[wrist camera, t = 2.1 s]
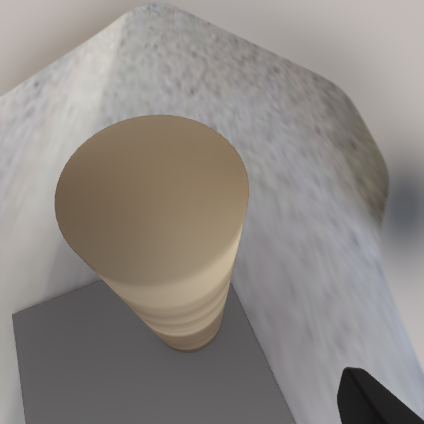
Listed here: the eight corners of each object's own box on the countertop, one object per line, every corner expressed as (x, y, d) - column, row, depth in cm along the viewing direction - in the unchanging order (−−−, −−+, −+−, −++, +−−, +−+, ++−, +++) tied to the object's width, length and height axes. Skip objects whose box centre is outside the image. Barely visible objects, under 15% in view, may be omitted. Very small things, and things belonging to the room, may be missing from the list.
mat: (330, 503, 14) (333, 506, 14) (62, 668, 12) (58, 676, 12) (210, 240, 21) (210, 238, 20) (15, 316, 18) (12, 314, 18)
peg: (231, 336, 17) (284, 232, 6) (169, 364, 17) (77, 314, 5) (206, 276, 19) (205, 97, 7) (148, 300, 18) (40, 144, 6)
